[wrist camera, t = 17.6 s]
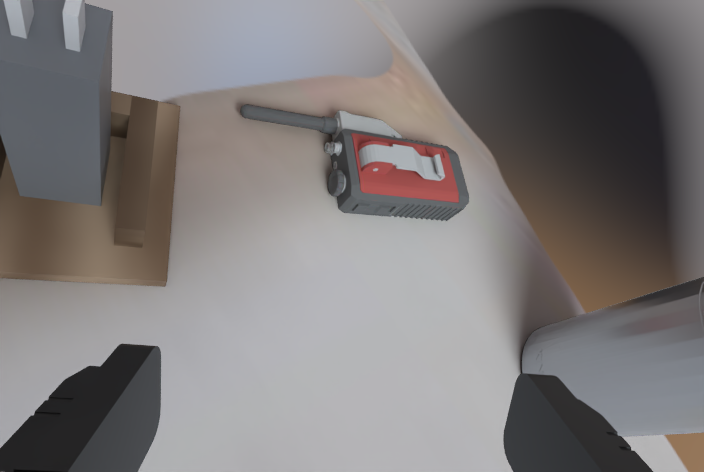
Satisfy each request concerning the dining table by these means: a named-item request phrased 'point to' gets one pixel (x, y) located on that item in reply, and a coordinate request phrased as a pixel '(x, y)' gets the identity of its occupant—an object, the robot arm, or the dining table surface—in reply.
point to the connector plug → (56, 97)
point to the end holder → (101, 209)
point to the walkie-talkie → (381, 166)
